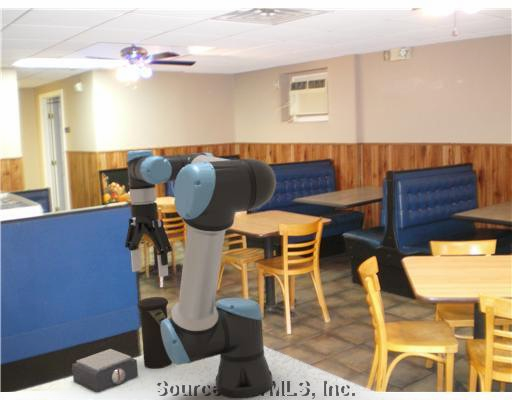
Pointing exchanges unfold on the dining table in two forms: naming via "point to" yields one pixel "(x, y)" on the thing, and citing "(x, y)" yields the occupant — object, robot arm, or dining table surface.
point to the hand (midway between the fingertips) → (149, 273)
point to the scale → (104, 370)
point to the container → (153, 331)
